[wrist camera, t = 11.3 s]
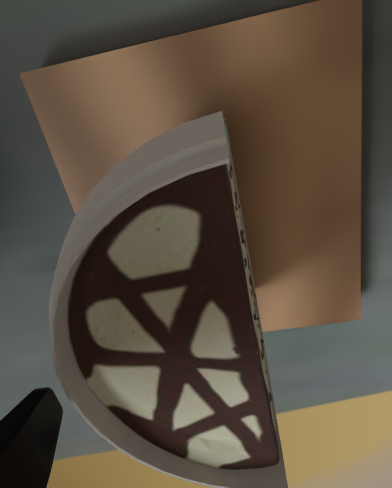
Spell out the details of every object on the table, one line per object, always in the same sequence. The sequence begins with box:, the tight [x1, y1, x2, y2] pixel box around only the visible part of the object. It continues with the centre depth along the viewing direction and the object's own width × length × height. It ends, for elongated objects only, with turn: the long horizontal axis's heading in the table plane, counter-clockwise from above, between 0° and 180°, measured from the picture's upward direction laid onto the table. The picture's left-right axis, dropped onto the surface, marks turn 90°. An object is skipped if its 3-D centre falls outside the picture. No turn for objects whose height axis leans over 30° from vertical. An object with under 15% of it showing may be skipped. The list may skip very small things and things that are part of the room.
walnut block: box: [19, 0, 362, 332], centre depth 19 cm, size 14×16×2 cm
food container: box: [49, 111, 288, 488], centre depth 14 cm, size 12×6×10 cm, turn 12°
